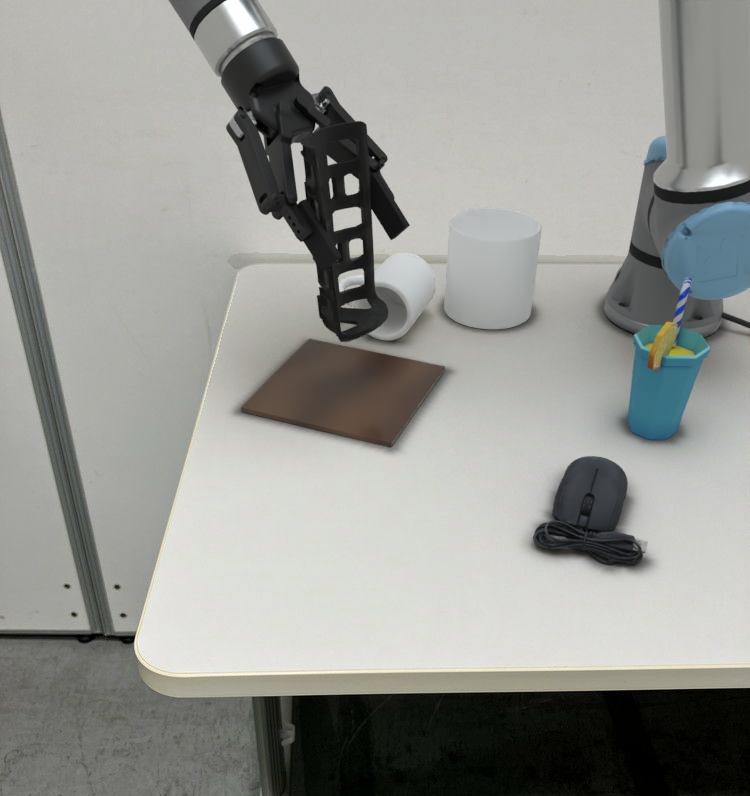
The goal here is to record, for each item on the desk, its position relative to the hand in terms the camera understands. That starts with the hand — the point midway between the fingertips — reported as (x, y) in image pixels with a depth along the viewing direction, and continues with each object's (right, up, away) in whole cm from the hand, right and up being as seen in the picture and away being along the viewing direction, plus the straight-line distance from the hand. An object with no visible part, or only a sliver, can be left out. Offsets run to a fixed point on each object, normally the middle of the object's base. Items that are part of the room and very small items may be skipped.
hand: (367, 248), depth 95 cm
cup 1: (+16, 0, +30) cm, 34 cm away
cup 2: (+32, -17, +8) cm, 37 cm away
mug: (+1, -3, +27) cm, 27 cm away
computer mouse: (+22, -27, -5) cm, 35 cm away
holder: (-2, -6, +7) cm, 10 cm away
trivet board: (-3, -13, +12) cm, 18 cm away
